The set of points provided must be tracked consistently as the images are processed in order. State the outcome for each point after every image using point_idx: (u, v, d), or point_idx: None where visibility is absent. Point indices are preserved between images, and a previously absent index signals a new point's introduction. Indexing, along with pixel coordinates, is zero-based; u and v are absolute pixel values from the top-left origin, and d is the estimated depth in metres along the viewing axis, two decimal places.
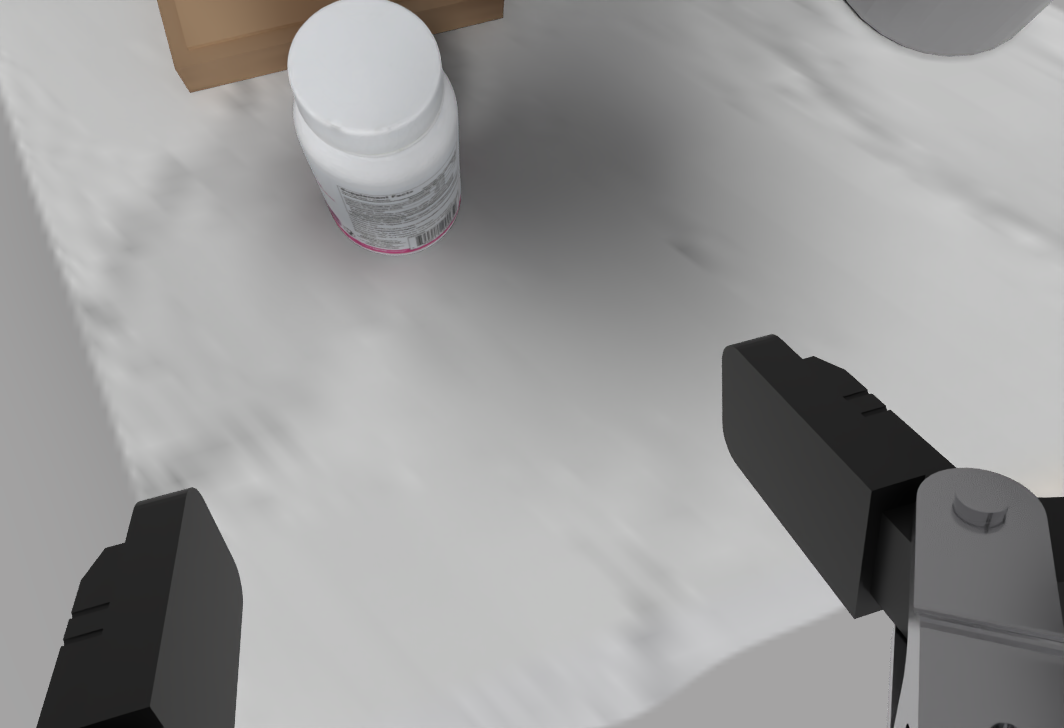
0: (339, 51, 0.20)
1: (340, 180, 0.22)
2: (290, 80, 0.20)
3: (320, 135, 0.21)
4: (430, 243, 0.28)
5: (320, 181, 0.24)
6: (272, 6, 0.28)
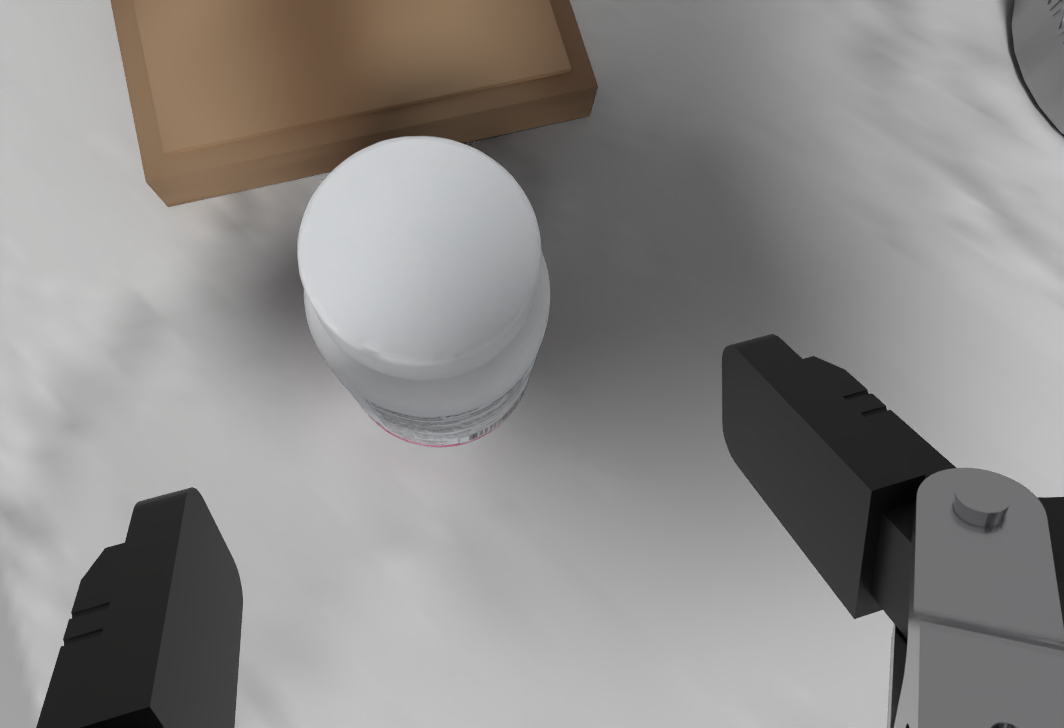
0: (382, 225, 0.13)
1: (371, 399, 0.15)
2: (301, 271, 0.13)
3: (344, 350, 0.13)
4: (487, 433, 0.20)
5: None
6: (284, 98, 0.20)
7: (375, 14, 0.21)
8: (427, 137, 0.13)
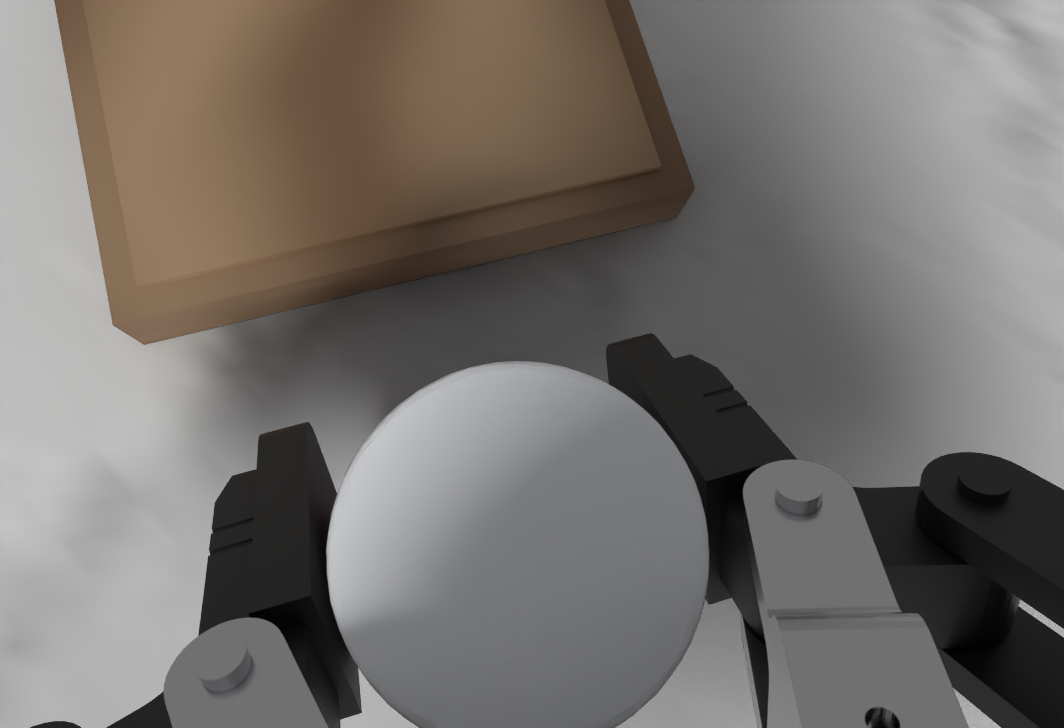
0: (460, 515, 0.08)
1: None
2: (333, 600, 0.08)
3: None
4: None
5: None
6: (293, 210, 0.16)
7: (410, 97, 0.17)
8: (526, 362, 0.09)
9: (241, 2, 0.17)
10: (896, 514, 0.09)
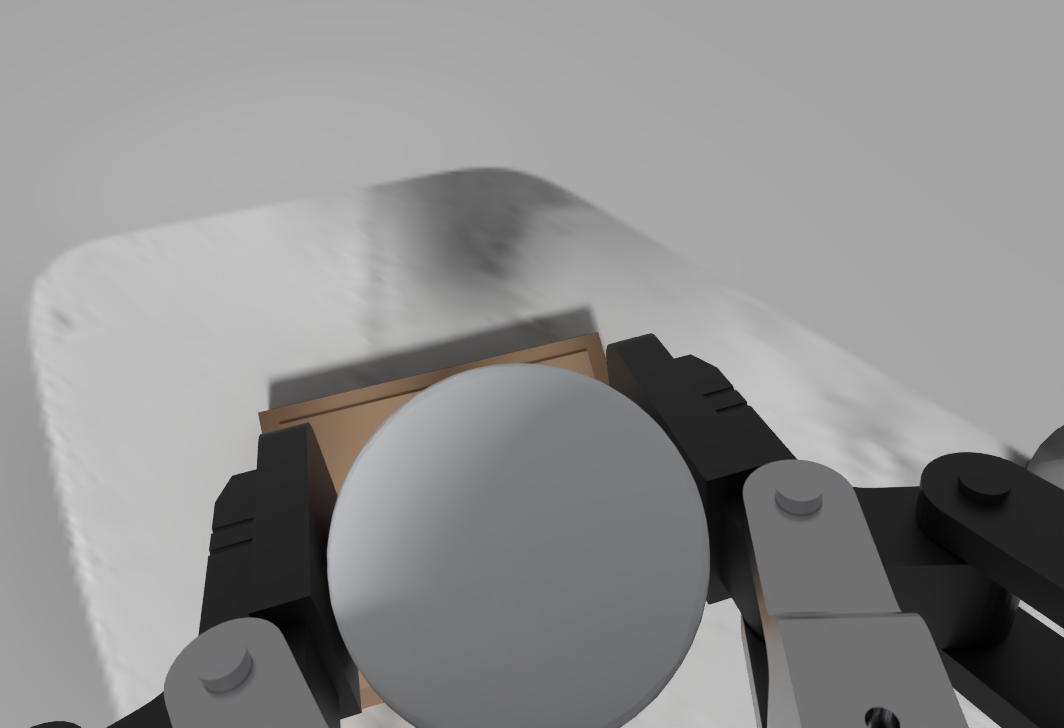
0: (461, 517, 0.08)
1: None
2: (334, 602, 0.08)
3: None
4: None
5: None
6: None
7: None
8: (527, 364, 0.09)
9: None
10: (896, 514, 0.09)
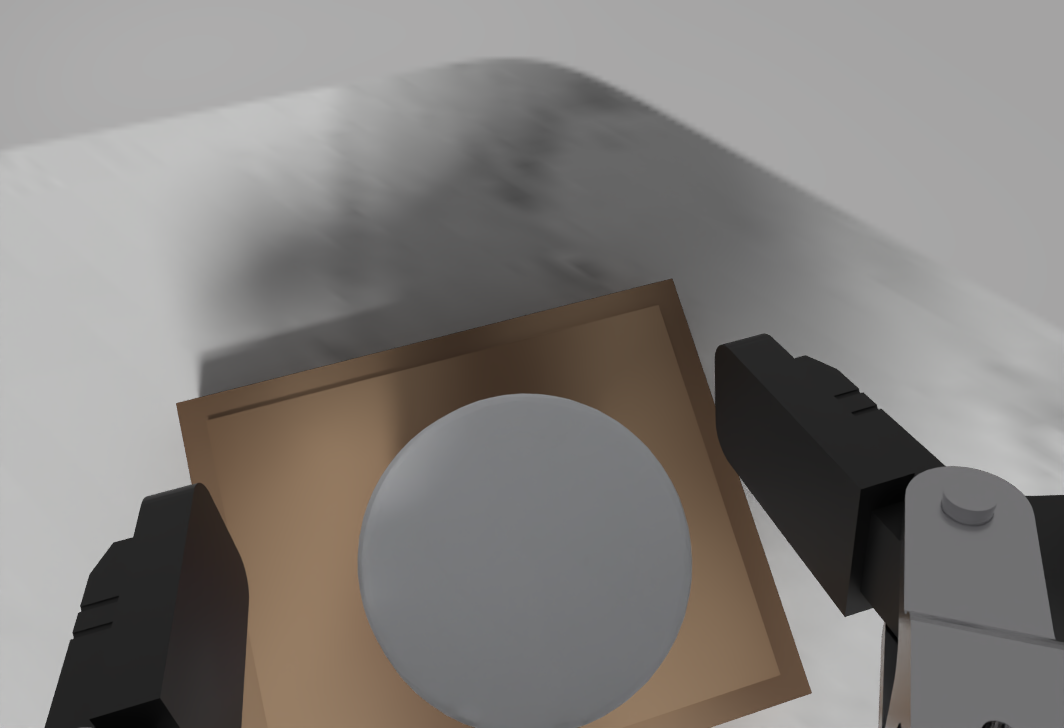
0: (476, 530, 0.09)
1: None
2: (367, 603, 0.09)
3: None
4: None
5: None
6: None
7: None
8: (532, 394, 0.10)
9: None
10: None
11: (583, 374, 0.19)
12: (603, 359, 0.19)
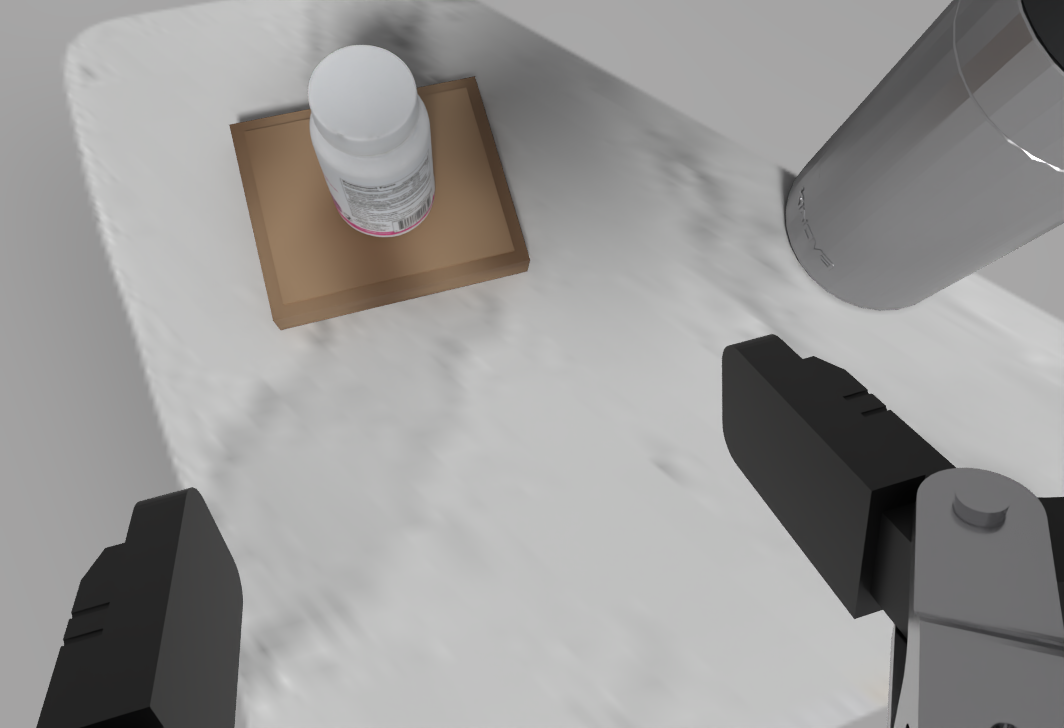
0: (345, 82, 0.29)
1: (342, 174, 0.31)
2: (309, 101, 0.29)
3: (329, 140, 0.29)
4: (410, 228, 0.36)
5: (327, 176, 0.32)
6: (349, 270, 0.36)
7: None
8: (365, 45, 0.29)
9: None
10: None
11: None
12: (438, 112, 0.38)
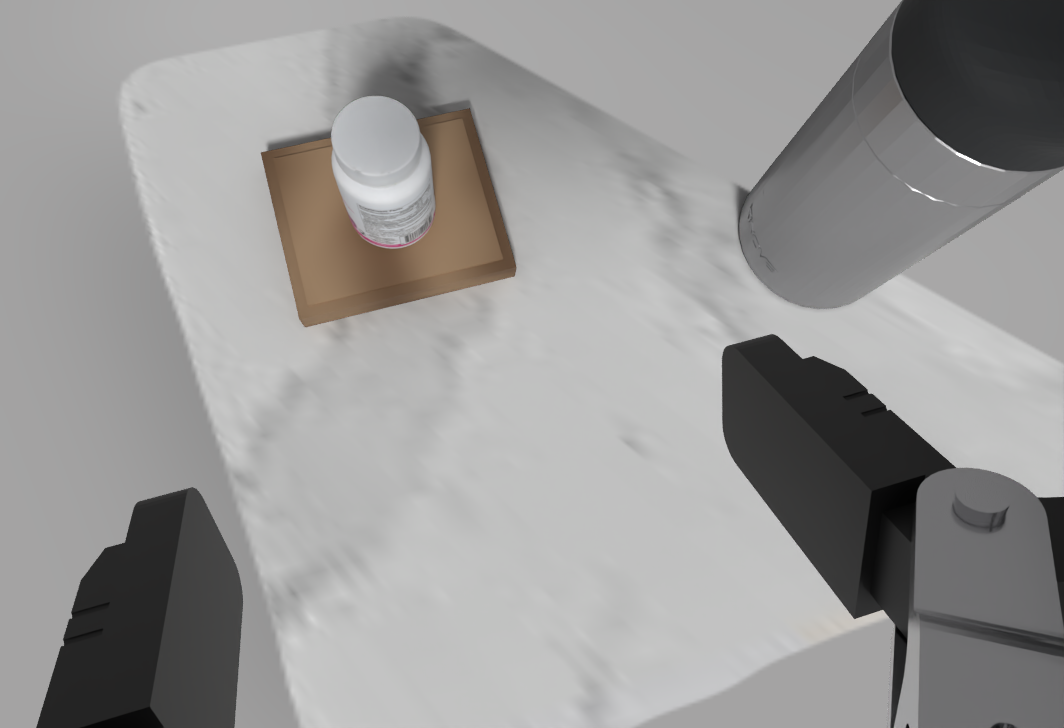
0: (361, 127, 0.35)
1: (359, 200, 0.37)
2: (332, 143, 0.35)
3: (348, 174, 0.36)
4: (414, 241, 0.43)
5: (346, 200, 0.39)
6: (363, 277, 0.43)
7: None
8: (378, 96, 0.36)
9: None
10: None
11: (428, 144, 0.45)
12: (438, 140, 0.45)
